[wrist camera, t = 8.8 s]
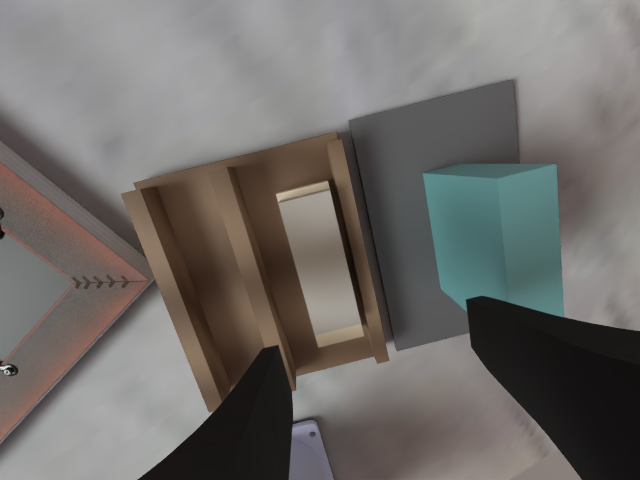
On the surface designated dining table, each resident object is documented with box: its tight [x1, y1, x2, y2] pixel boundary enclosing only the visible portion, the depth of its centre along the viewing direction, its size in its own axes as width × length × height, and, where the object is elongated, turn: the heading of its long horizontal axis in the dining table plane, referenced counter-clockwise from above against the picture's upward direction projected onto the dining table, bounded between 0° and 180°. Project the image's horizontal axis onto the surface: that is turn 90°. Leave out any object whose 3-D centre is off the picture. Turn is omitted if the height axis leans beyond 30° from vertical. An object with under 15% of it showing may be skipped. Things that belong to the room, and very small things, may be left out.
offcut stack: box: [276, 180, 364, 348], centre depth 19 cm, size 10×3×2 cm, turn 14°
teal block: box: [423, 164, 564, 317], centre depth 17 cm, size 8×2×8 cm, turn 14°
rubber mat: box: [349, 79, 520, 351], centre depth 21 cm, size 16×10×1 cm, turn 14°
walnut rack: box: [121, 132, 389, 412], centre depth 19 cm, size 15×12×3 cm
